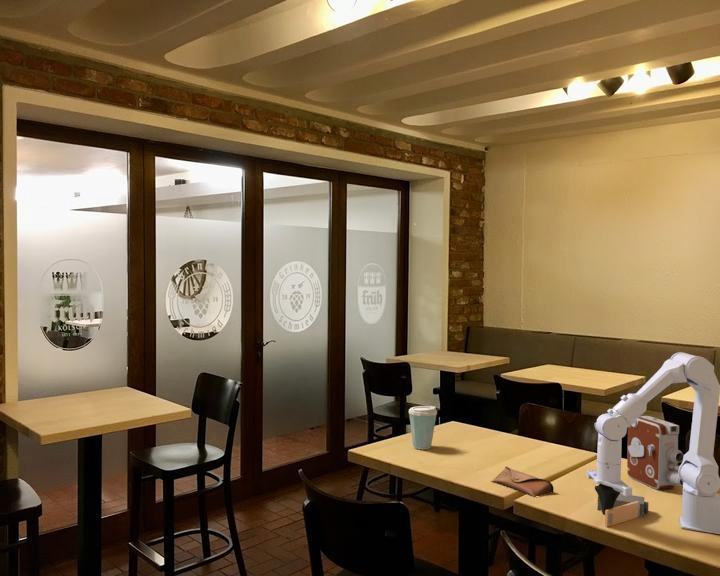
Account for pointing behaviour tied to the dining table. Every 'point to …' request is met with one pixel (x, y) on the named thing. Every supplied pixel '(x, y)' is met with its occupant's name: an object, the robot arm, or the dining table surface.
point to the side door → (622, 513)
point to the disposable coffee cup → (422, 425)
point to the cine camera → (654, 453)
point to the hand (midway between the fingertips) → (607, 514)
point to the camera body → (626, 500)
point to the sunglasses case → (523, 482)
